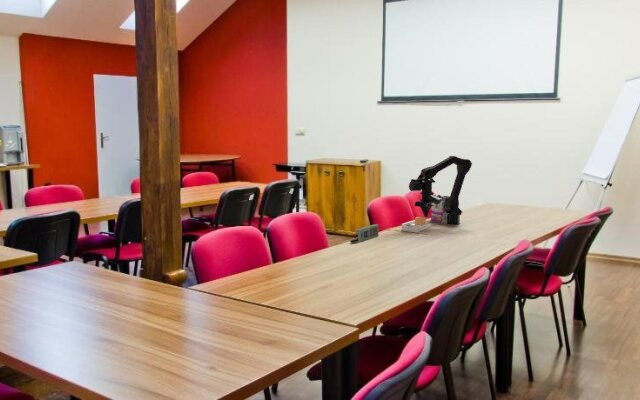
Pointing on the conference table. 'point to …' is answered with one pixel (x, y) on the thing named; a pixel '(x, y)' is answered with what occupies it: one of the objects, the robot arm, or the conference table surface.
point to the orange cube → (420, 220)
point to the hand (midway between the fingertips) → (426, 217)
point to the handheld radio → (366, 233)
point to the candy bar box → (439, 210)
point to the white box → (413, 226)
